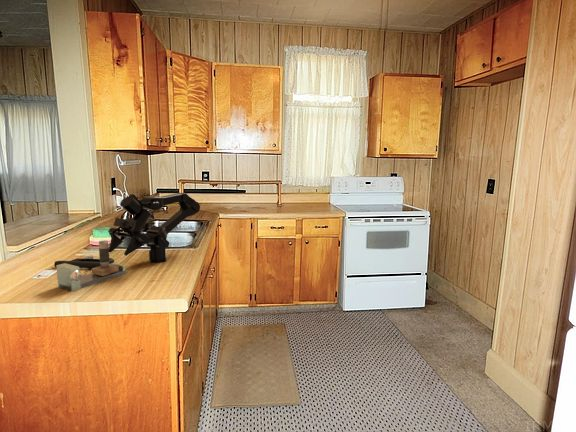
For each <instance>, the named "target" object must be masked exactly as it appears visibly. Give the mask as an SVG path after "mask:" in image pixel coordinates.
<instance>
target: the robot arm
mask: <svg viewBox="0 0 576 432" xmlns="http://www.w3.org/2000/svg"><path fill="white" fill-rule="evenodd" d="M175 203H178V206H179V209H178V211H177V212H176V213H174V214H173V215H171V217H169V218H168V219H167V220H166V221H165V222H164V223H161V225H159V226H156V225H152V226H151V227H149V229H147V230H146V227H145V225H146V224H147V222H148V221H149V220H155V215H154V212H150V211H155V212H156V211H158V210H160V209H162V208H163V207H164V206H167V205H172V204H173V205H174V204H175ZM119 205H120V207H122V209H123V210H125V212H127V213H128V214H129V215H130V216H132V218H131V217H126V218H121V217H115V219H114V222H113V226H114V227H110V228H109V230H108V231H107V233H108V234H109V236H110V243H109V246H108V247H109V253H112V252H114V251H115V249H117V247H119V246H120V245H121V244H123V242H124V241H123V240H125V239H126V238H129V239H130V242H129V244H128V245H127V247H126V249H125V251H124V253H123V255H124V256H128V255H130V254H132V253H133V252H135V251H136V250H138V249H140V248H141V247H145V245H146V247H147V248H149V251H148V260H149V263H163V262H167V253H166V249H167V248H169V247H170V242H169V240H167V238H168V235H169V233H171V232H172V231H173V230H174V229H175V228H176V227H178V226H179V225H180V224H181V223H182V222H183V221H184V220H186V219H187V218H189V217H191V216H194V215H196V214H198V213H199V212H200V209H201V205H200V204H199V202H198V201H196V199H194V198H192V196H190V195H188V194H187V193H186V192H176V193H172V194H171V193H170V194H166V195H161V196H143V197H142V199H139V198H138V197H137V196H136V194H132V193H131V194H129V195H128V196H125V197H124V198H123V199H122V200H120V203H119ZM145 230H146V232H143V231H145Z"/></svg>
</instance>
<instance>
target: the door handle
mask: <svg viewBox="0 0 576 432" xmlns="http://www.w3.org/2000/svg"><path fill="white" fill-rule="evenodd" d="M109 259H110V261H109V264H111V263H115V260H114V258H112V257H109ZM64 263H66V264H70V265H74V266H78V267H79V270H92V268H95V267H99V266H101V264H100V258H94V256H93V255H89V256H85V257H83V258H74V259H71V260H55V261H54V265H53V266H54V267H55V268H57V267H56V265H60V264H64Z"/></svg>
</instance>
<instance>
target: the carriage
mask: <svg viewBox="0 0 576 432" xmlns="http://www.w3.org/2000/svg"><path fill="white" fill-rule="evenodd" d="M98 245H99V246H98V247H99V248H98V253H99V259H100V264H101V266H99V267H95V268H92V269H91V274H96V275H100V276H104V275H108V274H111V273H114V272H117V271H119V267H118V266H116V265H111V264H109V261H110V259H109V258H110V252H109V247H110V246H109V241H108V240H99V241H98Z"/></svg>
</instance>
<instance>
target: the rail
mask: <svg viewBox="0 0 576 432" xmlns="http://www.w3.org/2000/svg"><path fill="white" fill-rule="evenodd" d="M111 265H116V266H118V267H119V271H117V272H114V273H111V274H108V275H104V276H100V275H96V274H92V273H91V274H87V275H84V276H82V272H81V270H80V269H79V267H78V266H74V265H70V264H66V263H64V264H60V265H56V267H55V268H56V275H57V287H58V288H59V289H63V290H66V291H69V292H74V291H77V290H81V289H83V288H86V287H89V286H91V285H95V284H99V283H101V282H105V281H107V280H108V281H109V280H111V279H114V278H117V277H120V276H123V275H127V269H126V265H124V264H121V263H116V262H113V263H111Z"/></svg>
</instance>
